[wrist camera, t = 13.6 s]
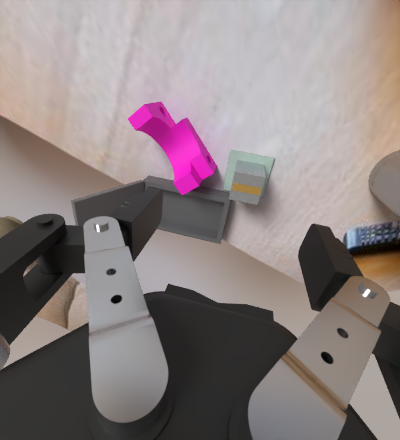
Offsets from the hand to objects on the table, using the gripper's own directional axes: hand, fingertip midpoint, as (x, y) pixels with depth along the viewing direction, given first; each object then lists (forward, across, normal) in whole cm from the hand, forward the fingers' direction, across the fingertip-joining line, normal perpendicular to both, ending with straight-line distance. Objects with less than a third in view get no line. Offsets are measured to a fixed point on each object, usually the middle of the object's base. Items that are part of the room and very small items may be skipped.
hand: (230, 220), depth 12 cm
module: (+32, -2, +8) cm, 33 cm away
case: (+32, +9, +18) cm, 38 cm away
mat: (+32, -2, +8) cm, 33 cm away
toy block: (+32, +11, +4) cm, 35 cm away
